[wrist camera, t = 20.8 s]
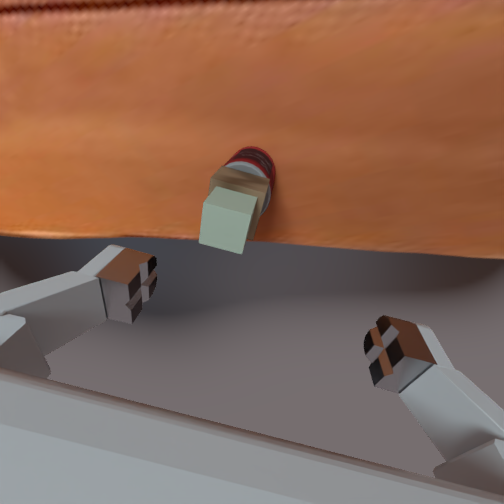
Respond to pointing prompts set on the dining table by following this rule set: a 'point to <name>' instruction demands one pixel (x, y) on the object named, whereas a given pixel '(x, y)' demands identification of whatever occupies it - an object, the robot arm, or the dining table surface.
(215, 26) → the dining table surface
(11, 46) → the dining table surface
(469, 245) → the dining table surface
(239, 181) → the walnut block
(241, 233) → the sage cube
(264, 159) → the canned food
